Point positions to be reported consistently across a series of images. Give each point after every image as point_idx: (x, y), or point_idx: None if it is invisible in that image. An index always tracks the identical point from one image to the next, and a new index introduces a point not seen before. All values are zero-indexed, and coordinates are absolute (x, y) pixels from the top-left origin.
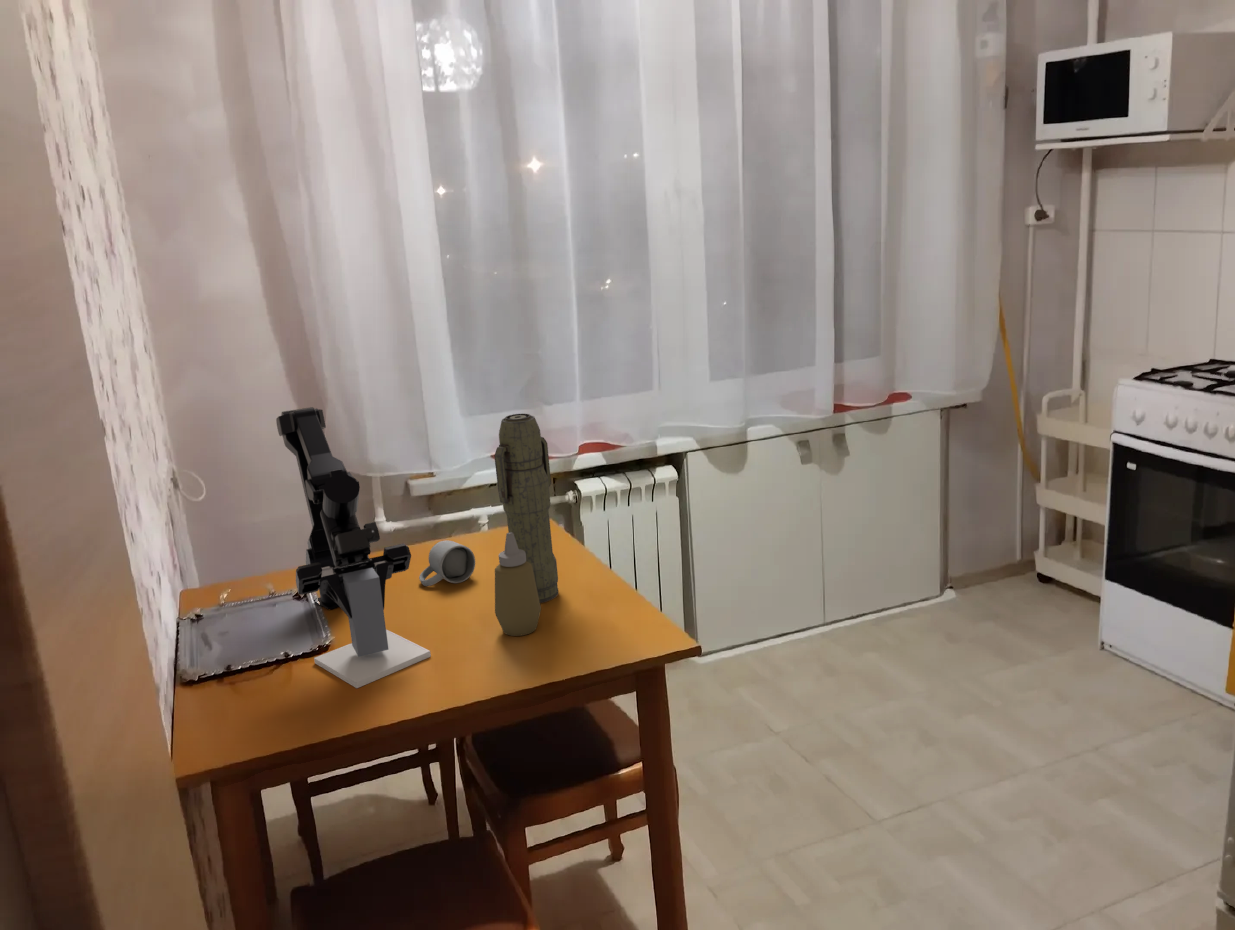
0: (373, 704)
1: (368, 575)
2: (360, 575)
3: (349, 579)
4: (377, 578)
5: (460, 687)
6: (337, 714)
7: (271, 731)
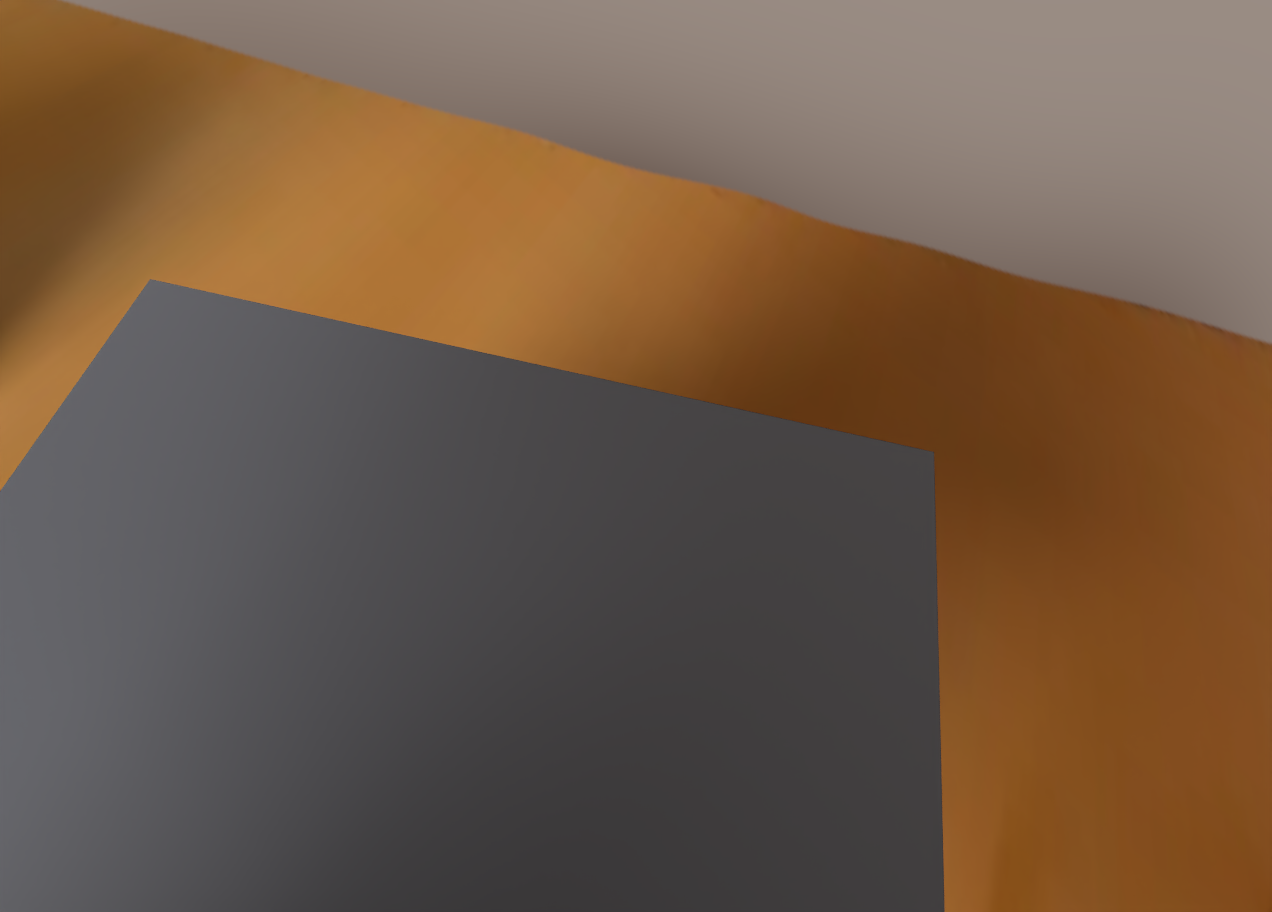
0: (730, 318)
1: (233, 600)
2: (403, 827)
3: (834, 747)
4: (213, 309)
5: (420, 198)
6: (865, 350)
7: (1100, 414)
